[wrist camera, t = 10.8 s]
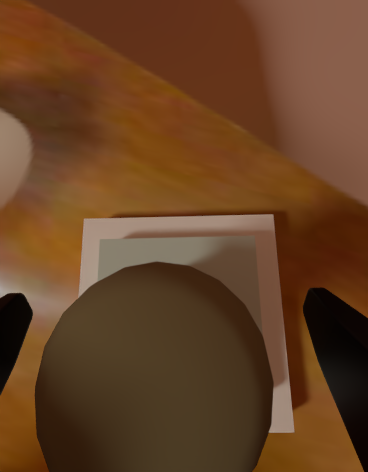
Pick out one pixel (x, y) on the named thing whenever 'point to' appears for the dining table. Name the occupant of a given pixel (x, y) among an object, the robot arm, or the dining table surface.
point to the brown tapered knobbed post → (154, 377)
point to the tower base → (213, 230)
